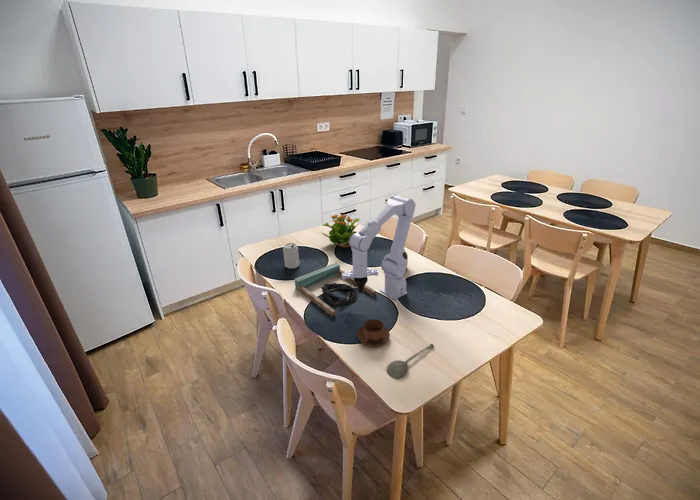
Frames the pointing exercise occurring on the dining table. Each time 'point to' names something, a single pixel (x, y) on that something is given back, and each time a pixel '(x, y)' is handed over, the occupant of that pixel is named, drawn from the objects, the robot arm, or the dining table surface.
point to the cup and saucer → (373, 333)
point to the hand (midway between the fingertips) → (360, 291)
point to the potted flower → (341, 230)
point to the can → (291, 255)
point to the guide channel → (322, 275)
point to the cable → (337, 300)
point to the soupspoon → (401, 365)
